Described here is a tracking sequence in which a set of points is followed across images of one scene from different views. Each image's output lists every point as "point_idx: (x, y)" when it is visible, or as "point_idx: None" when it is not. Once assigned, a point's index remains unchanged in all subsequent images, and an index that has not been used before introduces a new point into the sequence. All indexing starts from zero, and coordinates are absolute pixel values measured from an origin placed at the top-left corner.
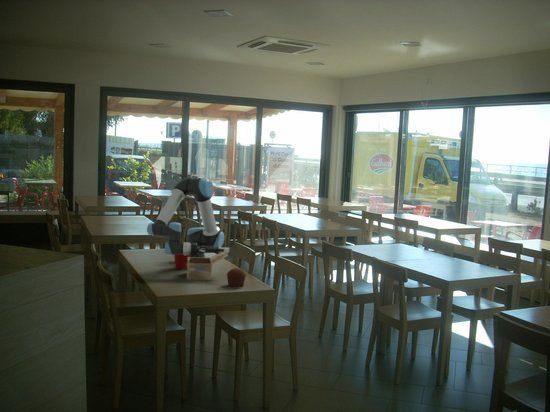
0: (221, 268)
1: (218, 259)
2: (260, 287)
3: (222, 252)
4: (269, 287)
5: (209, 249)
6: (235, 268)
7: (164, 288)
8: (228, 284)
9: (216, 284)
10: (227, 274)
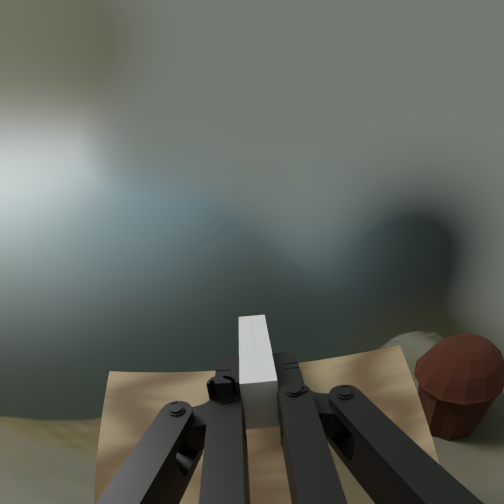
0: (25, 476)
1: (410, 435)
2: (414, 355)
3: (128, 412)
4: (396, 340)
5: (432, 469)
6: (467, 348)
7: None
8: (473, 428)
9: (481, 482)
10: (499, 390)
